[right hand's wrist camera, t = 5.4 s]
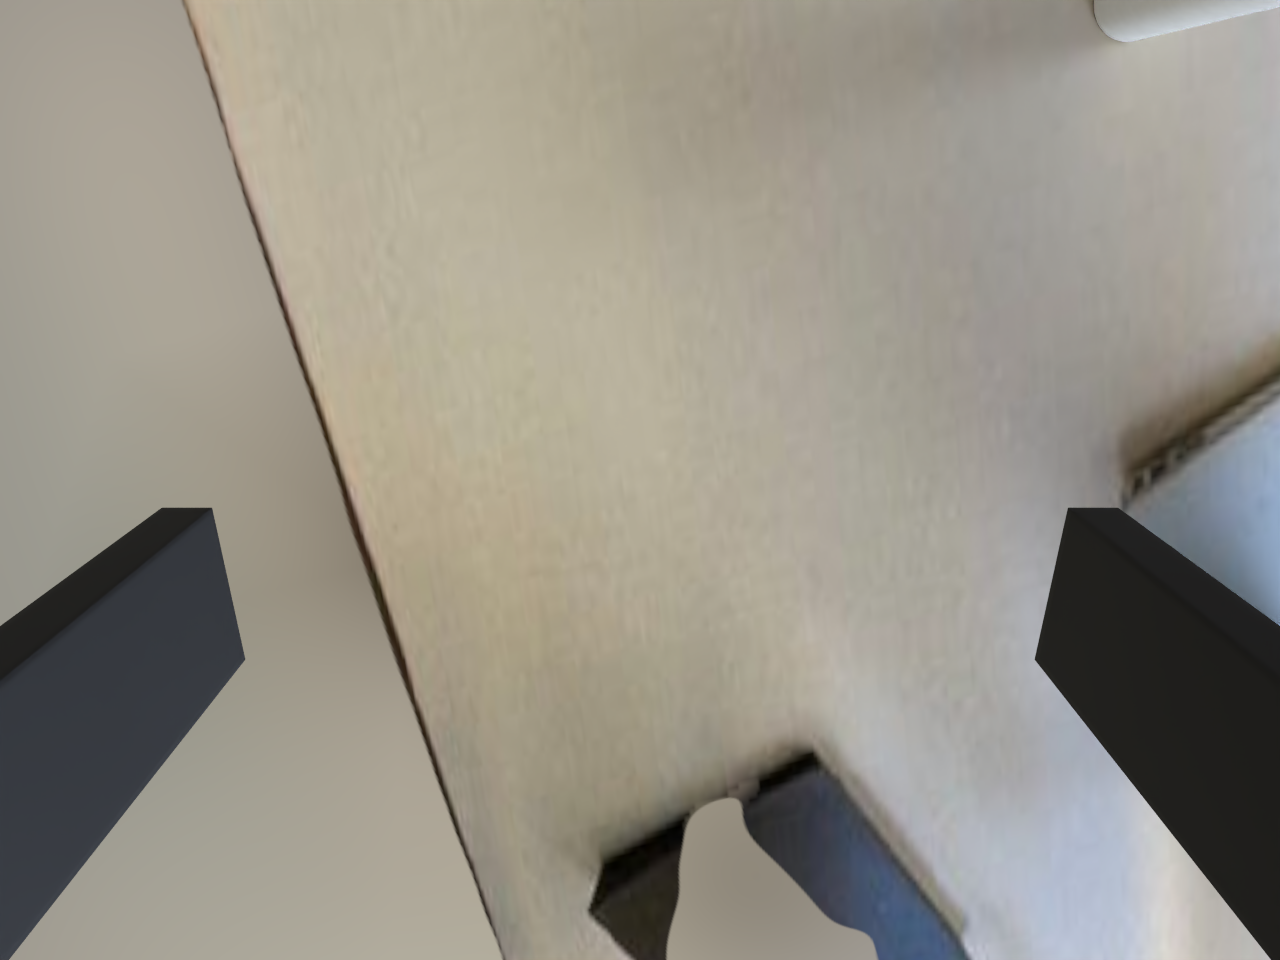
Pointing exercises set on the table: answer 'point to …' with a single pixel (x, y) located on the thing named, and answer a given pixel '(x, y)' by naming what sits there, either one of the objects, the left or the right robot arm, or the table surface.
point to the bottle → (1168, 15)
